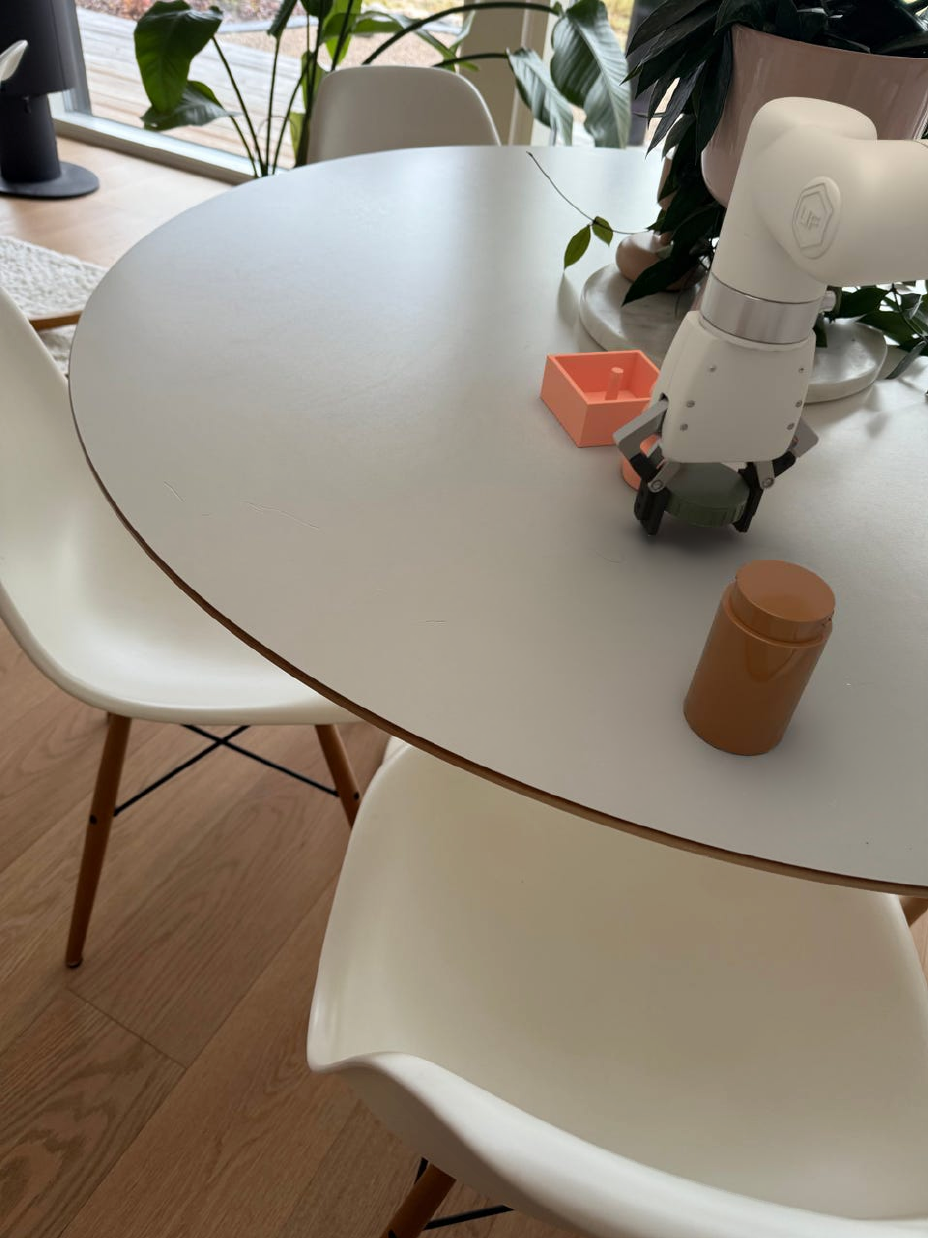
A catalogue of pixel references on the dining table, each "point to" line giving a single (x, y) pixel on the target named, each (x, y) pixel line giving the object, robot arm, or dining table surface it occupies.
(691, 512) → the lid
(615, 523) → the dining table surface
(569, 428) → the pottery
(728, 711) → the jar
